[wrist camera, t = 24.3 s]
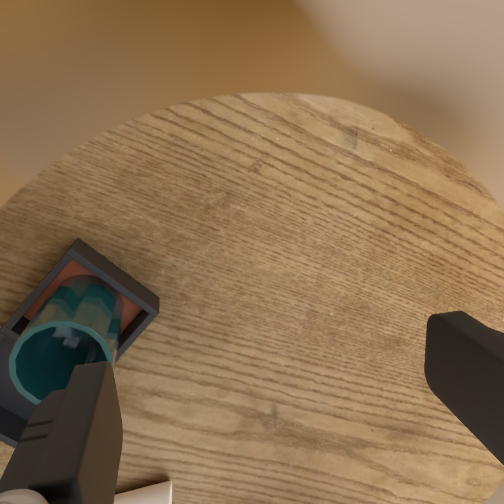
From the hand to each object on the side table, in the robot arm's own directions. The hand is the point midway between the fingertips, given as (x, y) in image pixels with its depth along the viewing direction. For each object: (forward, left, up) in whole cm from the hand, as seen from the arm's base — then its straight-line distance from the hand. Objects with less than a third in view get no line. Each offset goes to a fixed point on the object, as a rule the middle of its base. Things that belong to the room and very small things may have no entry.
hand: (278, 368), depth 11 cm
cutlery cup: (+6, -12, -28) cm, 31 cm away
